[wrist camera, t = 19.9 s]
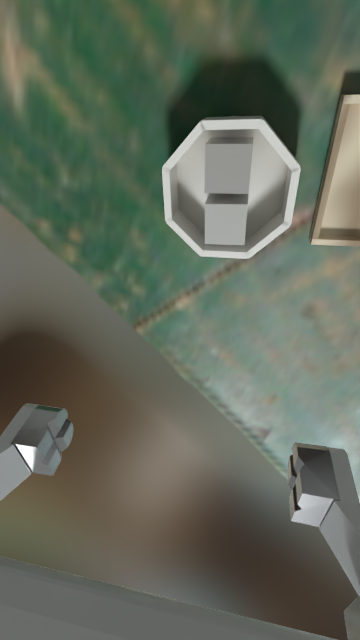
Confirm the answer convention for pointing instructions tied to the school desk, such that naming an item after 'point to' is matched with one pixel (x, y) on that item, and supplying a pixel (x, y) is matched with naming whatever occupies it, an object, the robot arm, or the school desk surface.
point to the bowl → (264, 187)
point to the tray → (340, 181)
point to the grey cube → (226, 218)
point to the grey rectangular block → (228, 165)
